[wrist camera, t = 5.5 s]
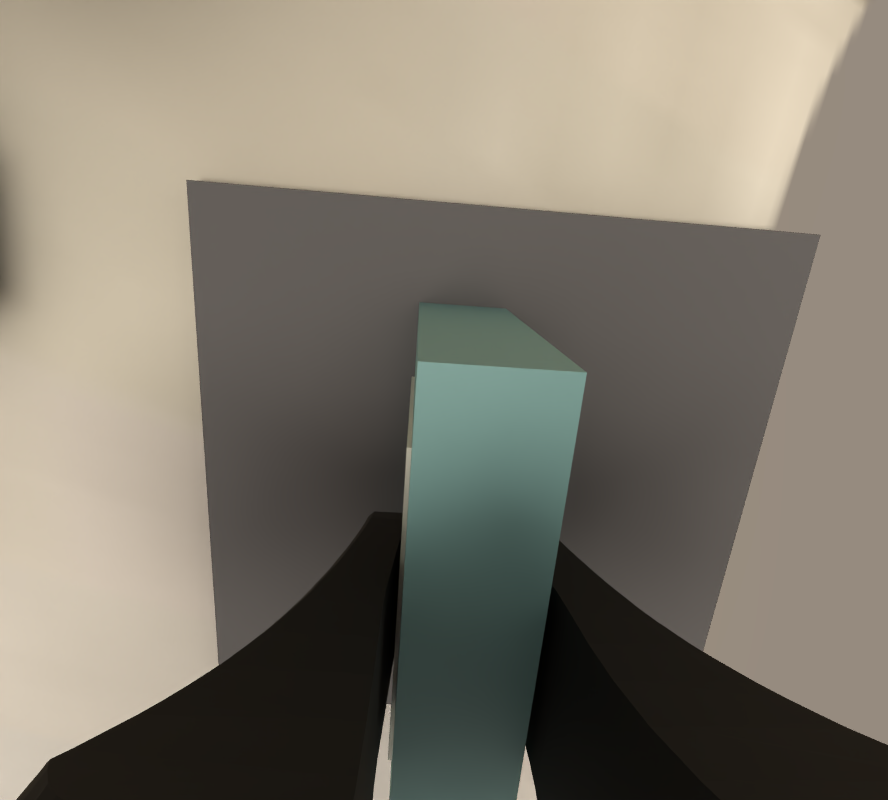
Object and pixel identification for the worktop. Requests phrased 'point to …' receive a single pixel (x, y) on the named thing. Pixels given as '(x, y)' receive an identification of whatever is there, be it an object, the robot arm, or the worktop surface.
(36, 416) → the worktop surface
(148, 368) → the worktop surface
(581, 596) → the robot arm
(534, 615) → the card box
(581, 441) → the mat
